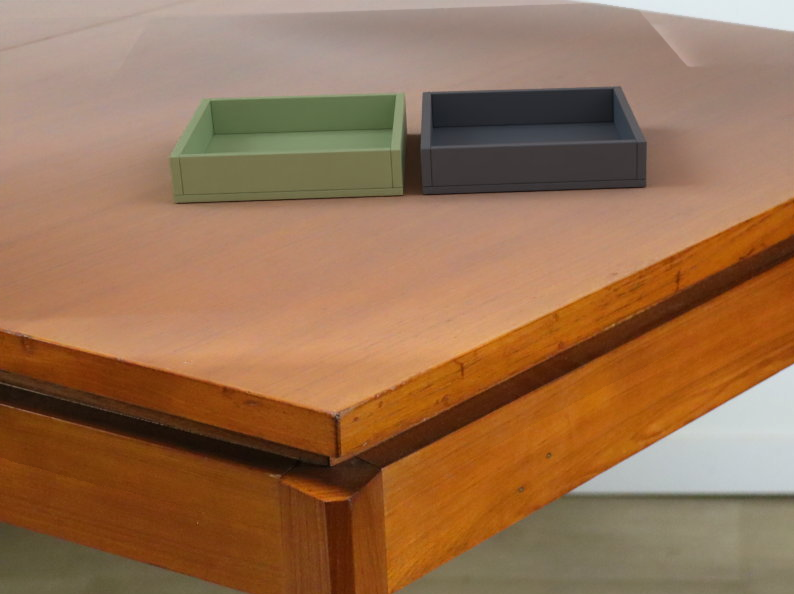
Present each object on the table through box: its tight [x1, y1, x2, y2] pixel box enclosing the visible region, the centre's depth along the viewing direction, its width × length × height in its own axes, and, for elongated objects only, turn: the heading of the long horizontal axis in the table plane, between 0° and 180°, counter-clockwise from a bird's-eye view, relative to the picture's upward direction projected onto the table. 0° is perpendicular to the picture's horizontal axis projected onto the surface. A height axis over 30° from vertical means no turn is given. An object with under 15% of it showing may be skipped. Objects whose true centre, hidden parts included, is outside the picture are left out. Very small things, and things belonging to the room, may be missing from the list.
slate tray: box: [420, 85, 648, 195], centre depth 83 cm, size 12×12×2 cm
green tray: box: [168, 92, 408, 204], centre depth 82 cm, size 12×12×2 cm
